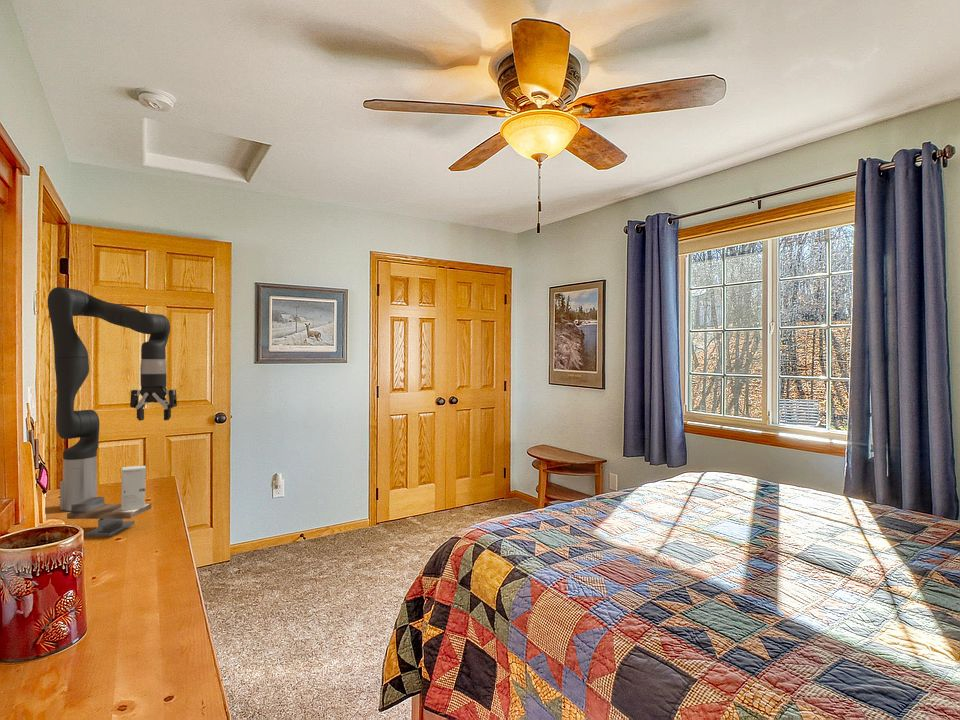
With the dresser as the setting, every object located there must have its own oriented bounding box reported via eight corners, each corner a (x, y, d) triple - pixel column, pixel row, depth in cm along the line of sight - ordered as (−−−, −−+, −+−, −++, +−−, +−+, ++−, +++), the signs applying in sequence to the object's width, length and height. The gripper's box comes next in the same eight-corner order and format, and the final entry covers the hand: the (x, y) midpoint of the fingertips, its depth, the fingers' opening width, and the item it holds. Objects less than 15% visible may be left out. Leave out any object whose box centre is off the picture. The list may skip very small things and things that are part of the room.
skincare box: (120, 511, 153) (120, 469, 152) (121, 507, 156) (121, 467, 156) (145, 507, 156) (145, 467, 156) (145, 504, 160) (145, 464, 160)
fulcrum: (85, 536, 150) (85, 521, 150) (111, 524, 161) (111, 509, 161) (110, 536, 151) (110, 520, 151) (134, 524, 162) (134, 509, 162)
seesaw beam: (67, 518, 151) (67, 505, 151) (91, 508, 161) (91, 496, 161) (130, 518, 151) (130, 505, 151) (151, 508, 161) (151, 495, 161)
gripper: (180, 372, 182) (181, 418, 182) (139, 372, 181) (139, 419, 181) (168, 372, 174) (168, 421, 174) (125, 372, 174) (125, 421, 174)
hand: (153, 420), depth 178 cm, fingers open, 8 cm apart
